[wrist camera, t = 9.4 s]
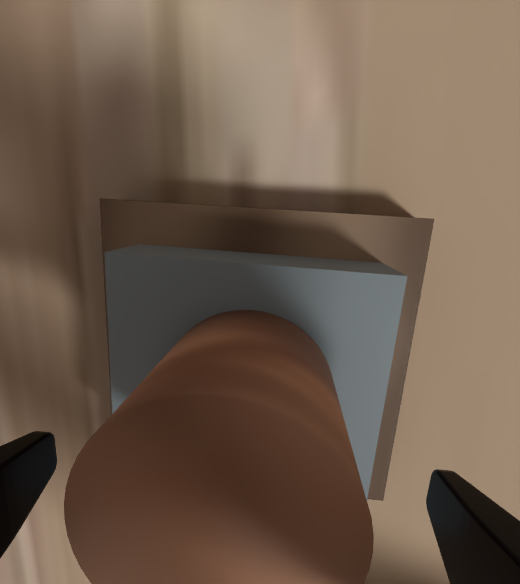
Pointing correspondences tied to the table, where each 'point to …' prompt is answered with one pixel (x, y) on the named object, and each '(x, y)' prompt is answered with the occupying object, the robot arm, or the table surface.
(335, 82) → the table surface
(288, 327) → the cherry puck
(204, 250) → the grey slab
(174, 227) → the walnut slab
